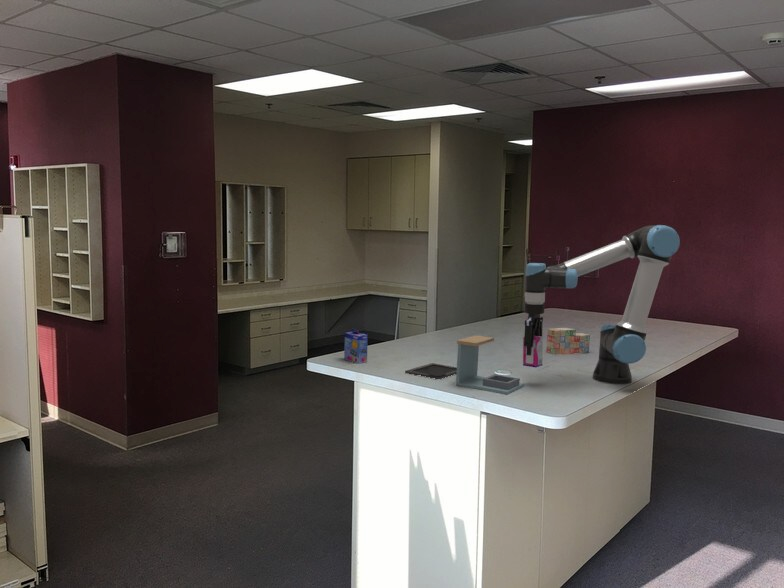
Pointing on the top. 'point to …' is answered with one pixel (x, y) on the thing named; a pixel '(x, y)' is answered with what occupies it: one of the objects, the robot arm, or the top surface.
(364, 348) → the ink cartridge box
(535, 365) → the supplement box
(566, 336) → the stack of blocks
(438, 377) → the picture frame
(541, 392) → the top surface
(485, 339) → the socket stand
